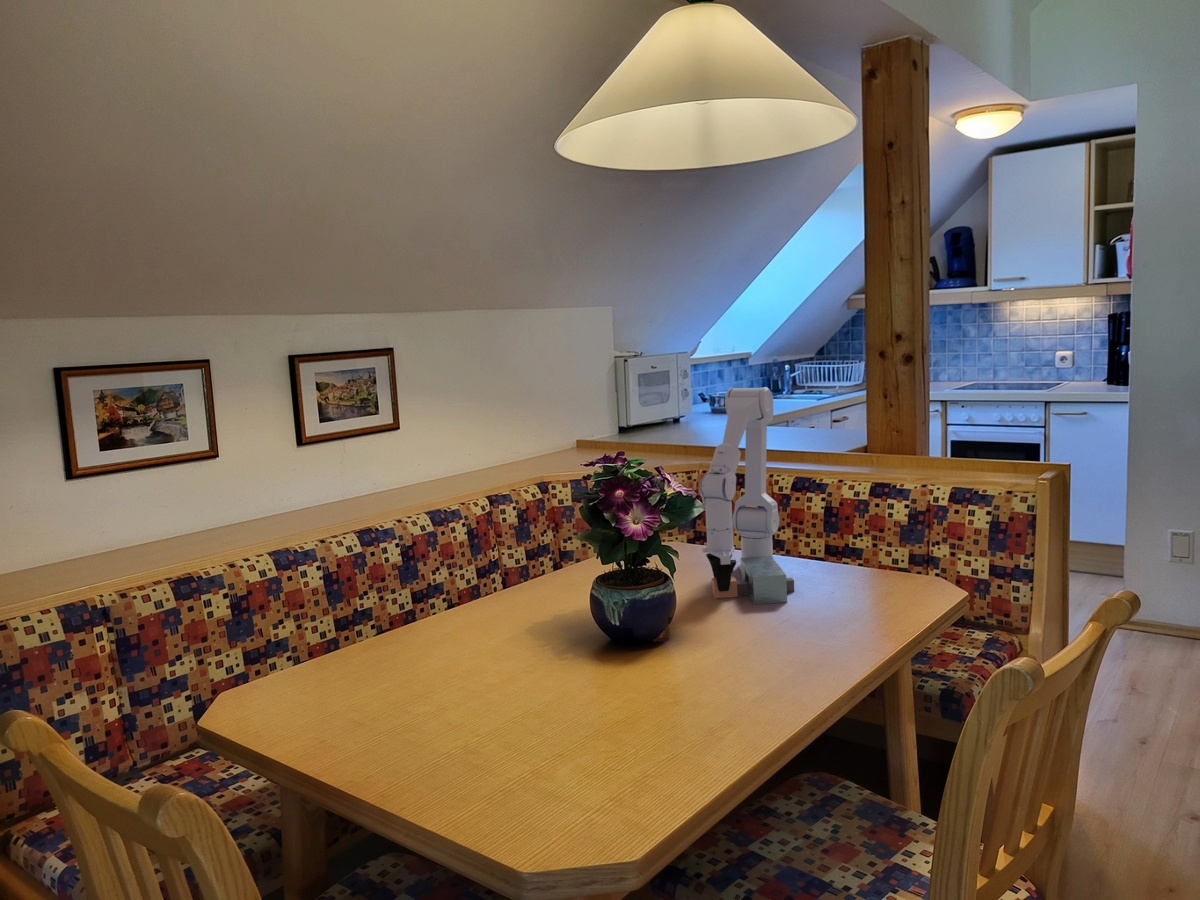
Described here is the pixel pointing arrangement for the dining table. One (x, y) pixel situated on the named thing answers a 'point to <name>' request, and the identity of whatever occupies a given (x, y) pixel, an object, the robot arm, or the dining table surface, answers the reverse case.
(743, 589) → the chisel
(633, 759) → the dining table surface
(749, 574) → the block
